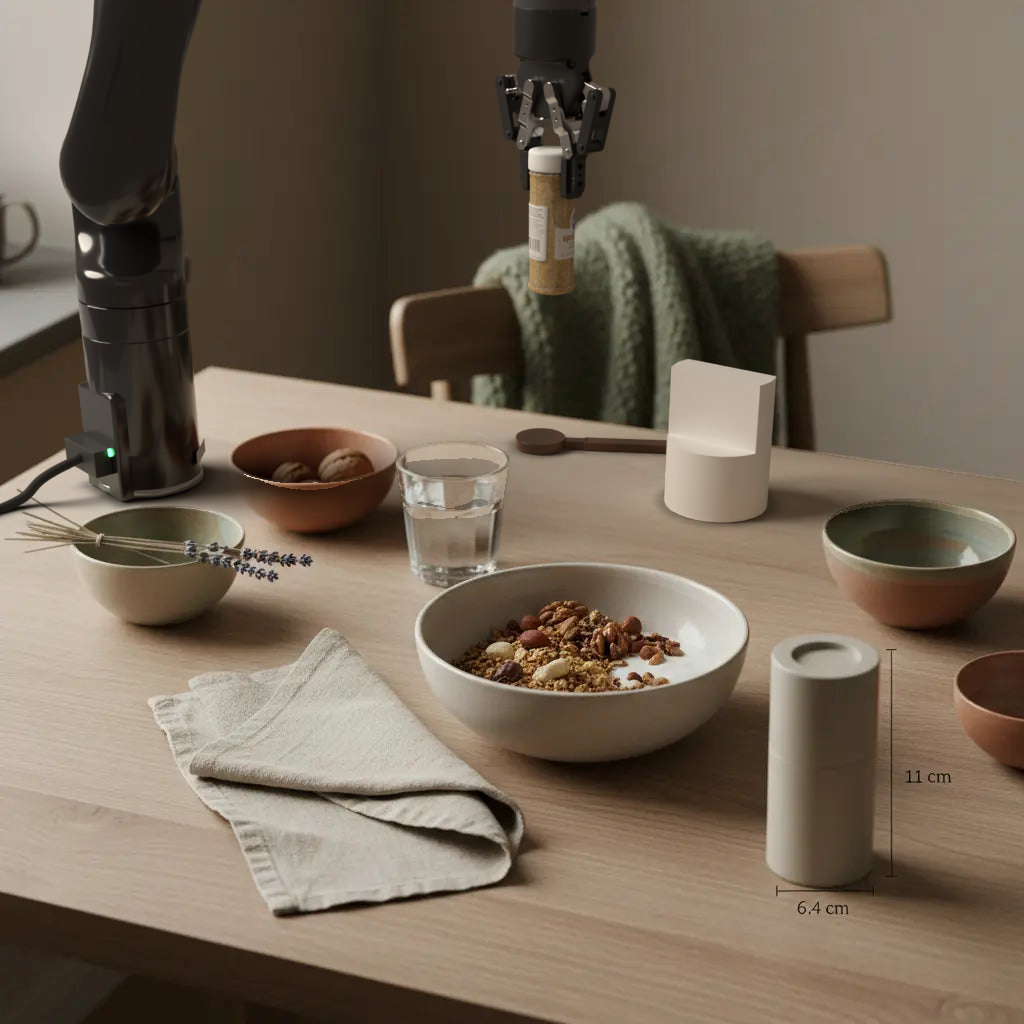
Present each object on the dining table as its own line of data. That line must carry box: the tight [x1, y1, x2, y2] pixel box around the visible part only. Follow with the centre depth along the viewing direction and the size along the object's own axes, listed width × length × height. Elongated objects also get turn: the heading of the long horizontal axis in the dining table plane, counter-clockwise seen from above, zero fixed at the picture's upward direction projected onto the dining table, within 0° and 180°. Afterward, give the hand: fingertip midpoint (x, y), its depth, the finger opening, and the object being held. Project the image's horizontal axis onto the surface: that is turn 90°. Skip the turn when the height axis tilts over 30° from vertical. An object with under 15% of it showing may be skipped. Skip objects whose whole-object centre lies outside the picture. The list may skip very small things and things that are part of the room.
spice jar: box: [527, 145, 576, 296], centre depth 143 cm, size 5×5×13 cm
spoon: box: [515, 427, 667, 456], centre depth 145 cm, size 18×5×1 cm, turn 85°
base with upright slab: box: [663, 358, 777, 524], centre depth 131 cm, size 9×9×12 cm
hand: (552, 192), depth 141 cm, fingers closed on spice jar, 4 cm apart
